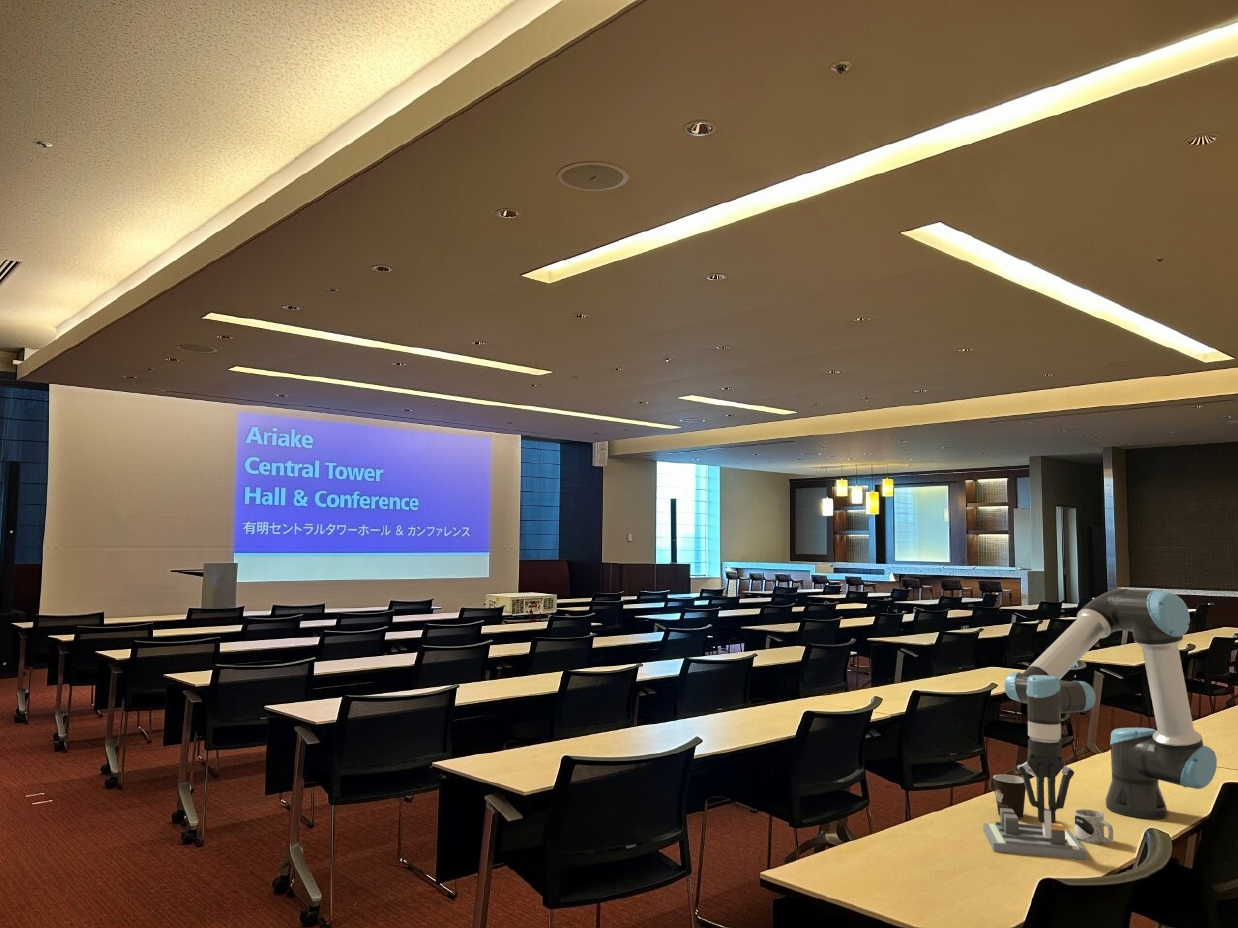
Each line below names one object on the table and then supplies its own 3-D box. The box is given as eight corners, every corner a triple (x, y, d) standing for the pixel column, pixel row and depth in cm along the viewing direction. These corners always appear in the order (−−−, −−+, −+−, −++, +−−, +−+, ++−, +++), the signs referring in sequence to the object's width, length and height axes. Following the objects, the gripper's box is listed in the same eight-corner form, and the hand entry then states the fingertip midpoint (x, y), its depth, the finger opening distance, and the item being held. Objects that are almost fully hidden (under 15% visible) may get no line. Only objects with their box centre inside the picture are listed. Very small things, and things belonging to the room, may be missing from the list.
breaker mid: (1016, 832, 227) (1015, 814, 228) (1018, 836, 224) (1018, 818, 225) (1003, 831, 228) (1003, 813, 228) (1006, 835, 225) (1005, 817, 225)
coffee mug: (1031, 820, 244) (1030, 783, 244) (997, 818, 245) (996, 781, 246) (1020, 808, 255) (1019, 772, 256) (988, 806, 257) (988, 770, 258)
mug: (1069, 836, 231) (1068, 810, 232) (1087, 833, 234) (1086, 807, 234) (1103, 849, 222) (1102, 822, 222) (1122, 846, 225) (1121, 819, 225)
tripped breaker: (1062, 842, 220) (1061, 823, 221) (1065, 847, 217) (1064, 827, 217) (1049, 841, 221) (1048, 822, 221) (1052, 846, 218) (1051, 826, 218)
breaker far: (1012, 826, 232) (1012, 808, 233) (1015, 830, 229) (1014, 812, 230) (1000, 825, 233) (999, 807, 233) (1002, 829, 230) (1002, 811, 230)
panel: (1069, 837, 230) (1069, 827, 230) (1086, 859, 215) (1086, 848, 215) (983, 830, 235) (983, 820, 235) (993, 851, 220) (993, 839, 220)
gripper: (1069, 737, 224) (1072, 833, 222) (1013, 734, 227) (1015, 828, 225) (1076, 744, 216) (1079, 843, 215) (1019, 740, 220) (1021, 838, 218)
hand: (1047, 835), depth 220 cm, fingers closed
